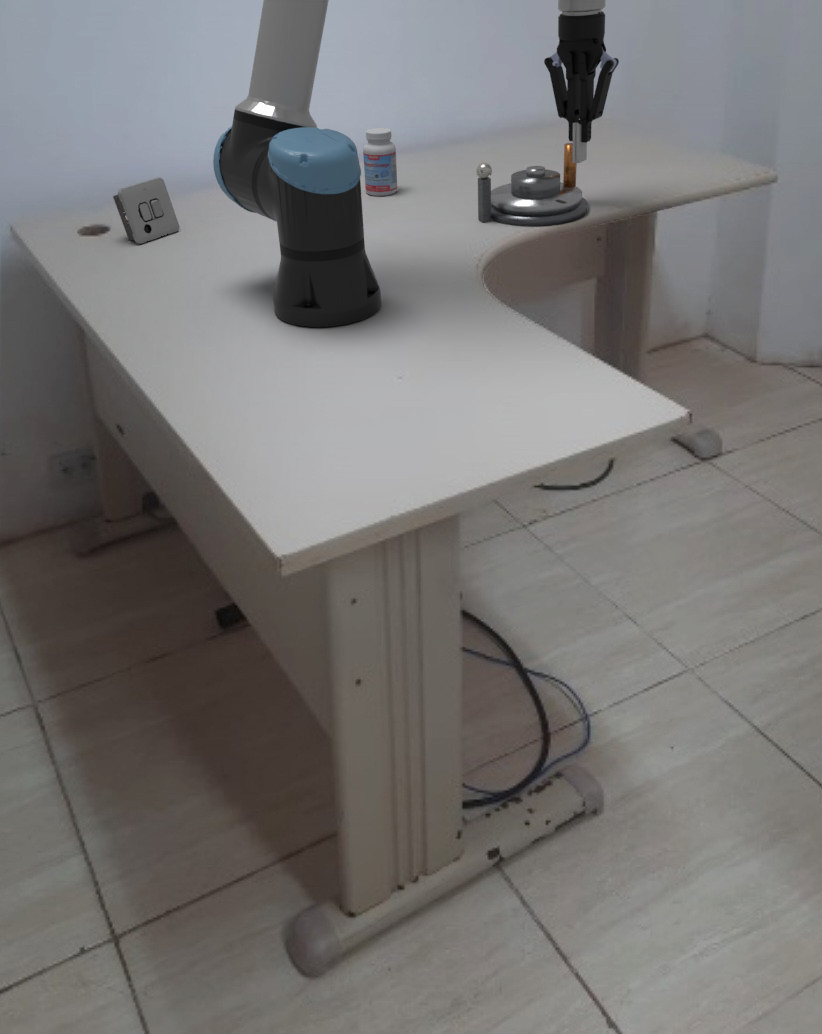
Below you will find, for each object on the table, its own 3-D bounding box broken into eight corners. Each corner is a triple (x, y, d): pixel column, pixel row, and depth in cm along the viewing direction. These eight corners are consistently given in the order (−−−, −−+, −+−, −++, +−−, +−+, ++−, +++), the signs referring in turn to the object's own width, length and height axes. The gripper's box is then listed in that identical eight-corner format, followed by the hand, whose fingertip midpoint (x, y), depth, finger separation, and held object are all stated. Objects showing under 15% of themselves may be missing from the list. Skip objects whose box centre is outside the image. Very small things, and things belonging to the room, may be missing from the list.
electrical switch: (139, 246, 179) (125, 190, 174) (120, 244, 182) (106, 189, 177) (181, 231, 185) (169, 177, 180) (162, 229, 188) (150, 176, 184)
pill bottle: (361, 196, 198) (357, 133, 192) (371, 187, 203) (367, 126, 197) (392, 197, 197) (388, 134, 191) (402, 188, 202) (398, 127, 196)
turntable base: (608, 214, 182) (608, 207, 181) (518, 232, 175) (518, 225, 174) (550, 190, 195) (550, 184, 195) (465, 207, 189) (465, 200, 188)
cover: (569, 193, 183) (570, 168, 180) (530, 202, 179) (531, 177, 177) (539, 183, 189) (540, 159, 186) (501, 192, 185) (501, 167, 183)
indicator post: (495, 221, 181) (494, 163, 176) (481, 224, 180) (481, 165, 175) (487, 217, 183) (487, 160, 178) (474, 220, 182) (473, 162, 177)
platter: (603, 202, 182) (606, 151, 178) (526, 221, 175) (527, 168, 171) (546, 183, 194) (547, 135, 189) (471, 200, 187) (470, 151, 182)
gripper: (628, 8, 170) (623, 159, 183) (558, 7, 177) (558, 152, 190) (606, 15, 165) (602, 169, 178) (535, 14, 172) (536, 162, 185)
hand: (579, 161), depth 184 cm, fingers closed
